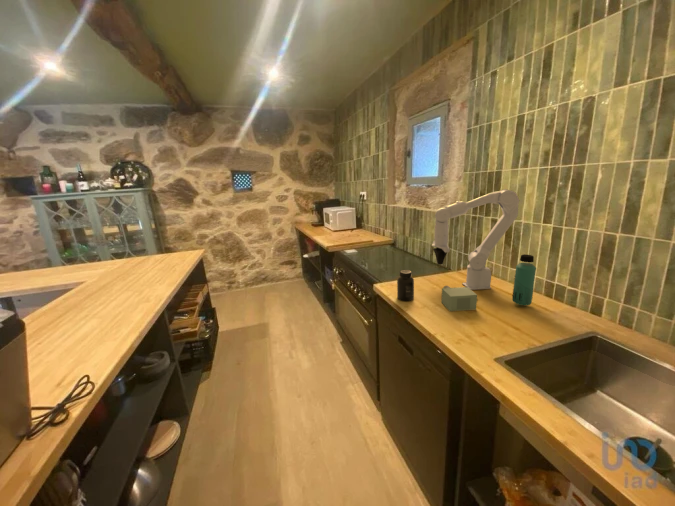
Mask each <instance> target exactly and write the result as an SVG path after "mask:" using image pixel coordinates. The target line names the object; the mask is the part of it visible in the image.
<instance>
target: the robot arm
mask: <svg viewBox="0 0 675 506" xmlns="http://www.w3.org/2000/svg"><path fill="white" fill-rule="evenodd" d="M486 204H487V205H488V204H494V205H499V206H500V209H501V212H502V215H501V216H500V217H499V219H498V220H497V221H496V223H495V225H494V226H493V227H492V228H491V230H490V231H489V232H488V234H487V236H486V237H485V238H484V239H483V241H482V242H481V243H480V245H478V246H477V247H476V248H475V250H473V251H471V252H469V254H468V257H467V259H468V261H469V264H467V266H466V267H467V268H466V281H465V282H462V285H463V286H464V287H468V288H469V289H470V290H472V291H474V290H475V291H476V290H490V289H492V287H491V282H492V271H491V269H490V268H489V267H487V266H486V264H487V261H488V259H489V257H490V254H491V252H492V250H494V249H495V247H496V245H497V244H498V243H499V241H501V239H502V238H503V236H504V235H505V234H506V232H507V231H508V230H509V228H510V227H511V226H512V225H513V223H514V222H515V221H516V219H517V218H518V216H519V204H520V199H519V196H518V194H517V193H516V192H515V191H514V190H509V189H506V188H505V189H501V190H499V191H492V192H489V193H487V194H485V195H482V196H479V197H477V198H474V199H471V200H469V201H466V202H465V201H463V200H461V201H460V200H457V201H455V203H451V204H449V205H447V204H446V205H445V206H444V207H440V208H438V209H437V210H436V211H435V213H434V214H435V215H434V218H435V221H434V223H435V225H434V240H433V241H432V244H431V247H433V248H432V249H433V252H434V255H435V259H436V264H437V265H443V264H444V261H445V258H446V256H447V254H448V253H450V251H451V250H450V247H449V244H448V242H449V241H448V240H449V219H454V218H457V217H459V216H463V215H466V214H467V213H468V211H469V210H471V209H473V208H474V209H475V208H478V207H480V206H484V205H486Z"/></svg>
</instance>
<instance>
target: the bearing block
mask: <svg viewBox="0 0 675 506" xmlns="http://www.w3.org/2000/svg"><path fill="white" fill-rule="evenodd" d="M477 301H478V294H477V293H476V292H474V290H470V289H469V288H468V287H466V286H463V287H462V286H461V287H459V286H458V287H450V288H443V287H442V288H441V301H440V302H441V304H442V305H443V306H444V307H446V309H447V310H448V311H449V312H457V311H459V312H460V311H474V310H477V303H478V302H477Z"/></svg>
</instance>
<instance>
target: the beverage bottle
mask: <svg viewBox="0 0 675 506" xmlns="http://www.w3.org/2000/svg"><path fill="white" fill-rule="evenodd" d="M534 258H535V257H534V255H532V254H521V255H520V259H519V261H520V262H519V263H518V264H516V266H515V273H514V278H513V280H514V282H513V289H512V294H511V299H512V302H513V303H514V304H517V305H520V306H529V305H532V301H533V296H534V284H535V277H536V270H537V267H536V266H535V265H534V264H533V263H534Z"/></svg>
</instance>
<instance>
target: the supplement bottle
mask: <svg viewBox="0 0 675 506" xmlns="http://www.w3.org/2000/svg"><path fill="white" fill-rule="evenodd" d="M412 273H413V272H412V271H411V270H409V269H403V270H402V269H400V270H399V277H398V278H397V279H396V280H397V281H396V283H397V284H396V286H397V287H396V291H397V299H398V300H400V301H402V302H410V301H413V300H414V298H415V280H414V278H413V276H412V275H413V274H412Z"/></svg>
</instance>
